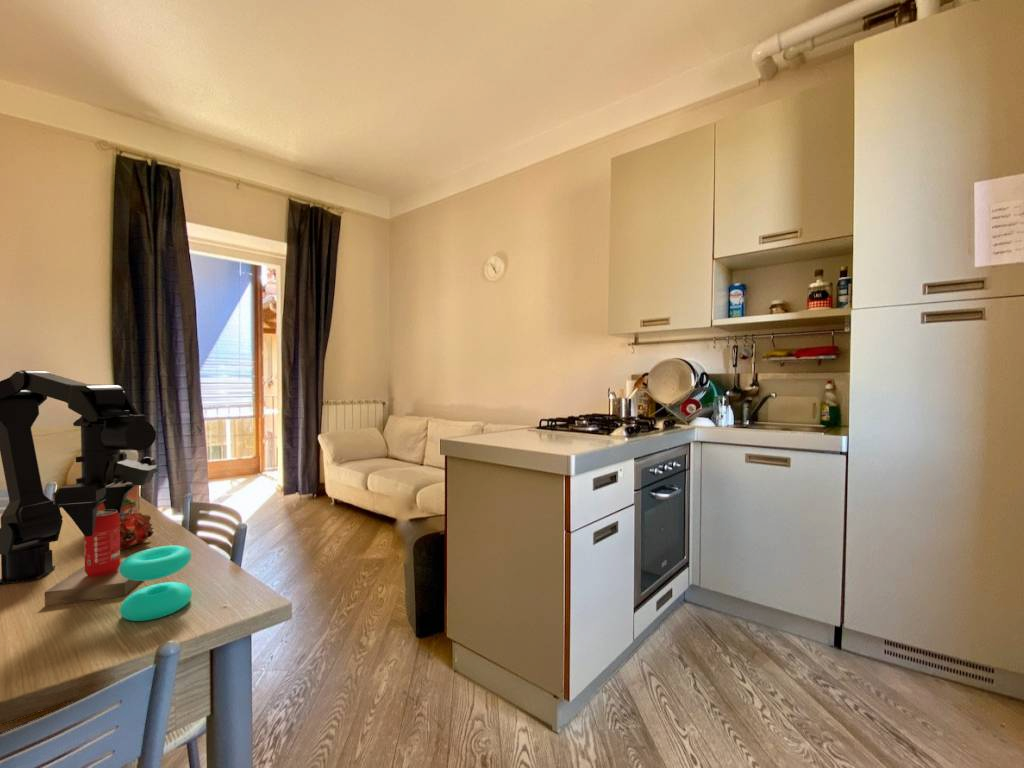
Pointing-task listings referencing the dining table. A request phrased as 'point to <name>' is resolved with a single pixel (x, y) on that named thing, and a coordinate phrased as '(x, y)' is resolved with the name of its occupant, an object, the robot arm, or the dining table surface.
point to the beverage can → (103, 545)
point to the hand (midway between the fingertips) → (102, 528)
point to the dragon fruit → (134, 529)
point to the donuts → (157, 596)
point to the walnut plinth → (89, 588)
